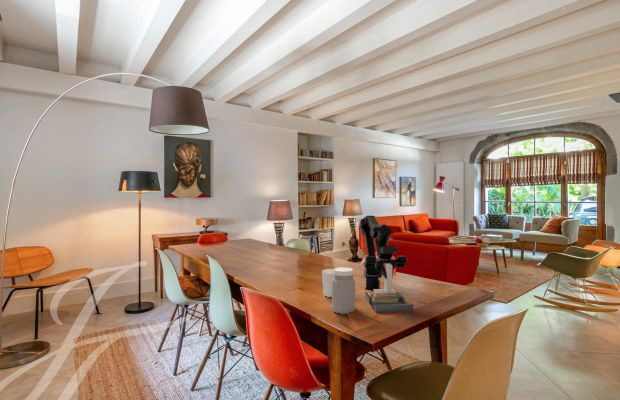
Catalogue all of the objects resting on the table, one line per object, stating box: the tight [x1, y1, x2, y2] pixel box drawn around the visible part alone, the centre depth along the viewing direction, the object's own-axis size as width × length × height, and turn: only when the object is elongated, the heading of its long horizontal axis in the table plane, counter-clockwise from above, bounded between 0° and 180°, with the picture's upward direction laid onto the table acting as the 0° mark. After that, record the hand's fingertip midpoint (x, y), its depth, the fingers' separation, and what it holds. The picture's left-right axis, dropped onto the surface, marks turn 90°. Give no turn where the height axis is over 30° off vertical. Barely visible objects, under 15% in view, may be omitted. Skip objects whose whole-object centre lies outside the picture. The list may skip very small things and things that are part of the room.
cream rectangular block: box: [383, 263, 393, 293], centre depth 145 cm, size 4×2×12 cm, turn 3°
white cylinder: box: [321, 268, 335, 298], centre depth 162 cm, size 10×10×12 cm
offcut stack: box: [370, 288, 398, 303], centre depth 151 cm, size 7×11×4 cm, turn 93°
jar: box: [331, 266, 356, 315], centre depth 140 cm, size 10×10×18 cm
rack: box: [364, 291, 415, 314], centre depth 146 cm, size 20×16×4 cm
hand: (389, 278), depth 144 cm, fingers closed on cream rectangular block, 2 cm apart
